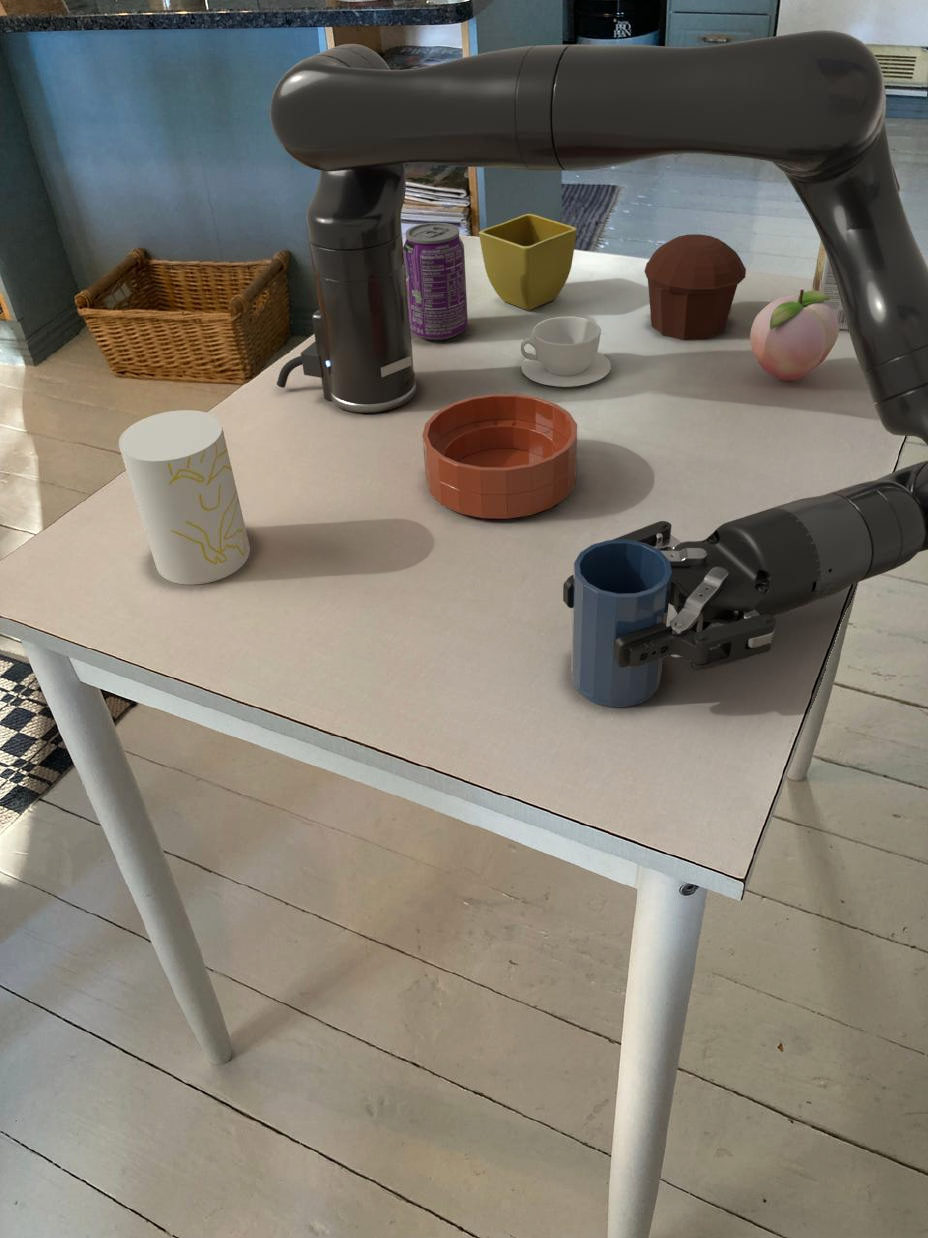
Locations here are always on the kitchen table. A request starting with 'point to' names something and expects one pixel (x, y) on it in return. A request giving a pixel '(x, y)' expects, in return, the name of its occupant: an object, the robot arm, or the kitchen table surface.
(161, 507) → the cup
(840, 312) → the coffee box
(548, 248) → the flower pot
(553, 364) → the teacup
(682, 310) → the muffin
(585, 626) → the tumbler
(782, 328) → the decorative fruit
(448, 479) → the bowl
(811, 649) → the kitchen table surface
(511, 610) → the kitchen table surface
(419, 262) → the beverage can
